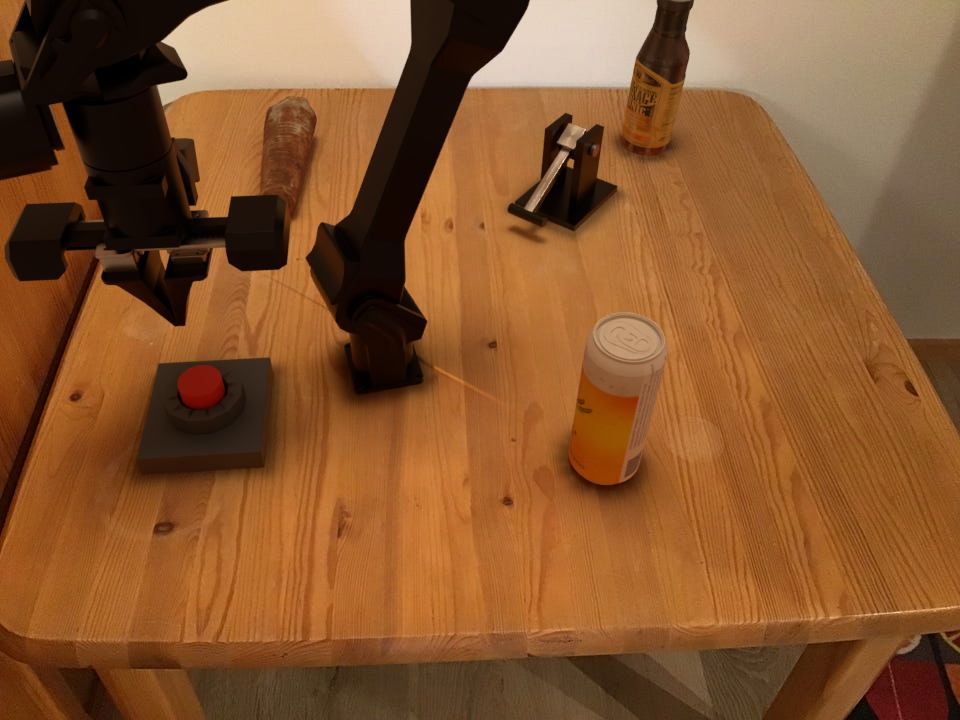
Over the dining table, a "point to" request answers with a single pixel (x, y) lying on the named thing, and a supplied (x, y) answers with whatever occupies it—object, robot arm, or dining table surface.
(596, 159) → the bracket
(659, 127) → the sauce bottle
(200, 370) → the button
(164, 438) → the button box
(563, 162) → the lever
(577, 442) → the beer can
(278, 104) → the brown tapered cylinder
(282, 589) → the dining table surface
